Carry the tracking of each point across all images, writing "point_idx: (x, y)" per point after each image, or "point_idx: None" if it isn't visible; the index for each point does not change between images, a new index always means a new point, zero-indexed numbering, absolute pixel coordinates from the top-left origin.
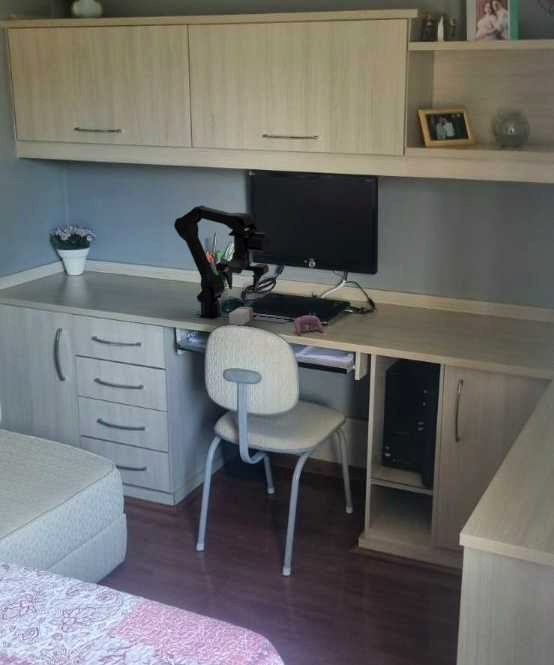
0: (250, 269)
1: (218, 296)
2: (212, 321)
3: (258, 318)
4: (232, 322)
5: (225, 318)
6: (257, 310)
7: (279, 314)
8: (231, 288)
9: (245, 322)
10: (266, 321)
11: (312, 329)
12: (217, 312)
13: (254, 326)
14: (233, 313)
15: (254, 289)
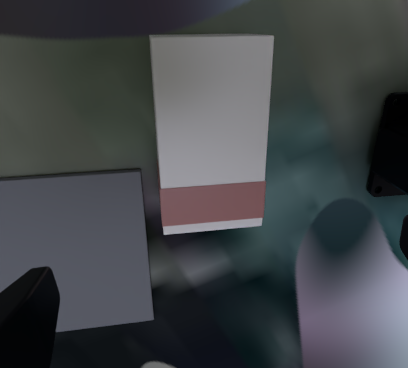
0: None
1: None
2: (379, 37)
3: (109, 195)
4: (227, 34)
5: (317, 129)
6: (203, 315)
7: None
8: (405, 236)
9: (153, 98)
10: (34, 177)
11: None
12: (390, 136)
13: (44, 45)
14: (239, 53)
15: (6, 290)
